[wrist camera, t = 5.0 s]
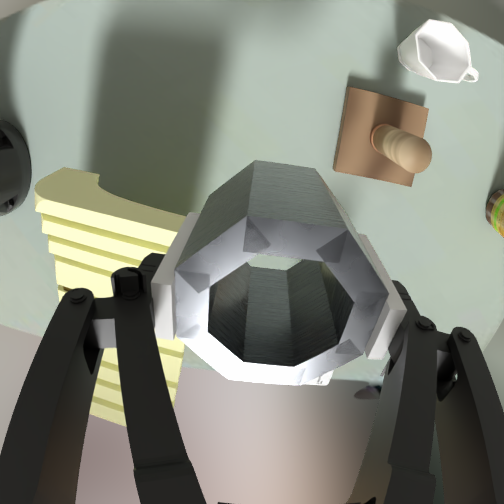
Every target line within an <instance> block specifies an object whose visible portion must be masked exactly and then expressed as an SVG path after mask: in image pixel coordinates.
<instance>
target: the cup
mask: <svg viewBox="0 0 504 504" xmlns="http://www.w3.org/2000/svg"><path fill="white" fill-rule="evenodd" d="M397 52H398V60H399V62H400V63H401V64H402V65H403V66H404V67H405V68H406V69H407V70H408V71H413V72H415V73H416V74H418V75H420V76H424V77H427V78H430V79H432V80H435V81H442V82H453V83H459V82H460V81H461V80H464V81H468V82H475V81H478V77H479V72H478V71H477V70H475V69H474V68H473V67H471V57H470V49H469V43H468V41H467V40H466V39H465V38H464V37H463V35H462V34H461V33H460V32H459V31H458V30H457V29H456V27H455V26H454V25H453V24H452V23H449V22H444V21H438V20H431V19H429V20H427V21H426V22H424V23H423V24H422V25H421V26H419V27H418V28H417V29H415V30H414V31H413V32H412V33H411V34H410V35H409V36H408V37H407V38H406V39H404V40H403V41H402V43H401V44H400V45H399V46H398V47H397ZM467 73H469V74H471V75H466V74H467Z"/></svg>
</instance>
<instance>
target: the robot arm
mask: <svg viewBox="0 0 504 504" xmlns="http://www.w3.org/2000/svg"><path fill="white" fill-rule="evenodd" d="M30 182H31V164H30V158H29V153H28V150H27V147H26V144H25V142H24V140H23V138H22V136H21V135H20V133H19V132H18V130H17V129H16V128H15V127H14V126H12V125H11V124H10V123H8V122H6V121H3V120H0V216H3V215H6V214H8V213H10V212H12V211H13V210H15V209H16V208H18V207H19V206H20V205H21V204H22V203H23V201H24V200H25V198H26V196H27V194H28V191H29V187H30ZM199 215H200V213H193V212H189V213H188V215H187V217H186V218H185V220H184V222H183V224H182V225H181V227H180V229H179V231H178V233H177V234H176V236H175V238H174V240H173V242H172V243H171V245H170V247H169V249H168V251H167V253H166V254H160V253H150V254H149V255H147V256H146V257H144V259H143V260H142V262H141V264H140V265H139V267H138V268H136V267H123V268H120V269H118V270H116V271H114V272H113V273H112V275H111V285H112V291H113V296H112V297H106V298H94V294H93V293H92V291H91V290H89V289H87V288H75V289H71V290H69V291H68V292H66V293H65V294H64V296H63V297H62V299H61V301H60V303H59V305H58V307H57V309H56V311H55V313H54V315H53V317H52V319H51V321H50V323H49V325H48V328H47V330H46V332H45V334H44V336H43V338H42V341H41V343H40V345H39V347H38V350H37V352H36V354H35V357H34V359H33V362H32V364H31V366H30V369H29V371H28V374H27V377H26V379H25V381H24V384H23V387H22V389H21V392H20V395H19V398H18V400H17V403H16V406H15V409H14V412H13V415H12V418H11V421H10V424H9V427H8V431H7V434H6V437H5V441H4V444H3V447H2V451H1V455H0V504H75V500H76V491H77V483H78V476H79V469H80V462H81V456H82V449H83V444H84V438H85V432H86V427H87V422H88V417H89V412H90V407H91V403H92V398H93V393H94V389H95V385H96V380H97V376H98V372H99V368H100V364H101V360H102V356H103V352H104V349H105V348H117V359H118V369H119V377H120V386H121V393H122V400H123V407H124V414H125V420H126V426H127V432H128V437H129V443H130V448H131V453H132V458H133V463H134V478H135V482H136V487H137V491H138V495H139V499H140V503H141V504H206V501H205V499H204V496H203V493H202V491H201V488H200V485H199V482H198V479H197V477H196V474H195V471H194V468H193V466H192V463H191V461H190V460H189V458H188V456H187V453H186V450H185V446H184V443H183V440H182V437H181V433H180V430H179V427H178V423H177V420H176V416H175V413H174V409H173V405H172V402H171V398H170V394H169V390H168V387H167V383H166V379H165V375H164V371H163V366H162V362H161V358H160V354H159V349H158V345H157V340H156V338H161V339H167V340H173V341H174V338H175V334H176V331H177V330H176V301H175V276H174V269H175V267H176V264H177V262H178V260H179V258H180V256H181V253H182V251H183V249H184V247H185V245H186V243H187V241H188V238H189V236H190V234H191V232H192V230H193V228H194V226H195V224H196V222H197V220H198V218H199ZM358 235H359V237H360V239H361V240H362V242H363V244H364V246H365V248H366V250H367V251H368V253H369V255H370V257H371V259H372V261H373V263H374V265H375V267H376V269H377V270H378V272H379V274H380V276H381V278H382V280H383V282H384V284H385V286H386V288H387V290H388V292H389V296H388V298H387V300H386V302H385V304H384V307H383V309H382V311H381V314H380V316H379V318H378V321H377V323H376V325H375V328H374V330H373V332H372V334H371V337H370V339H369V341H368V343H367V345H366V348H365V353H366V356H367V359H383V358H384V356H385V354H386V352H387V351H388V350H389V353H390V356H391V357H390V359H389V361H388V362H387V364H386V366H385V368H384V370H383V371H382V373H381V375H380V376H383V375H384V373H385V375H384V380H383V385H382V390H381V394H380V399H379V403H378V407H377V411H376V415H375V420H374V423H373V427H372V431H371V435H370V438H369V442H368V445H367V448H366V452H365V455H364V459H363V462H362V465H361V468H360V471H359V474H358V477H357V481H356V483H355V486H354V489H353V492H352V494H351V496H350V498H349V500H348V501H347V502H346V504H432V503H433V498H434V492H435V486H436V478H435V475H432V474H430V473H429V464H430V457H431V449H432V441H433V432H434V421H435V424H436V430H437V436H438V443H439V451H440V459H441V468H442V477H443V487H444V488H443V489H444V503H445V504H504V412H503V409H502V406H501V403H500V400H499V397H498V394H497V391H496V389H495V385H494V383H493V380H492V377H491V375H490V372H489V369H488V367H487V364H486V362H485V359H484V357H483V354H482V352H481V349H480V347H479V344H478V342H477V340H476V338H475V336H474V335H473V334H472V333H471V332H470V331H469V330H467V329H466V328H463V327H455V328H453V330H452V332H451V334H446V333H443V332H439V331H437V329H436V325H435V324H434V323H433V322H432V321H431V320H430V319H428V318H426V317H424V316H420V314H419V312H418V310H417V308H416V306H415V305H414V303H413V301H411V297H410V296H409V295H408V292H407V290H406V288H405V287H404V286H403V285H402V284H401V283H400V282H399V281H395V280H391V279H390V277H389V275H388V273H387V271H386V269H385V268H384V266H383V264H382V262H381V261H380V259H379V257H378V255H377V253H376V252H375V250H374V248H373V247H372V245H371V243H370V241H369V240H368V238H367V236H366V235H364V234H358ZM154 328H155V331H154ZM456 374H457V381H456V378H455V375H456ZM218 504H229V503H220V502H218Z"/></svg>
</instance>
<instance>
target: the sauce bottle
mask: <svg viewBox="0 0 504 504" xmlns="http://www.w3.org/2000/svg"><path fill="white" fill-rule="evenodd" d="M486 218H487V221H488V222H489V223H490V224H491V225H492V226H493V228H494V229H495V230H496V231H497V232H498V233H499V234H500V235H501V236H503V237H504V189H503V190H502V189H500V190H498V191H497V192H495V193H494V194H493V195H492V197H491V198H490V200H489V202H488V203H487V207H486Z"/></svg>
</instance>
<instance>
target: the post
mask: <svg viewBox="0 0 504 504" xmlns="http://www.w3.org/2000/svg"><path fill="white" fill-rule="evenodd" d="M428 110H429V109H428V108H425V107H422V106H419V105H415V104H412V103H409V102H406V101H403V100H399V99H396V98H392V97H389V96H385V95H381V94H378V93H374V92H370V91H366V90H362V89H358V88H353V87H347V89H346V96H345V102H344V108H343V114H342V120H341V126H340V131H339V137H338V143H337V148H336V153H335V159H334V164H333V169H334V171H336V172H341V173H347V174H352V175H357V176H363V177H368V178H373V179H377V180H382V181H387V182H392V183H396V184H401V185H405V186H410V187H411V186H412V182H413V178H414V175H415V173H420V172H422V171H424V170H425V169H426V168H427V167H428V166H429V164H430V162H431V158H432V151H431V148H430V145H429V144H428V142H427V141H426V140H424V139H423V136H424V131H425V126H426V121H427V116H428Z"/></svg>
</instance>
